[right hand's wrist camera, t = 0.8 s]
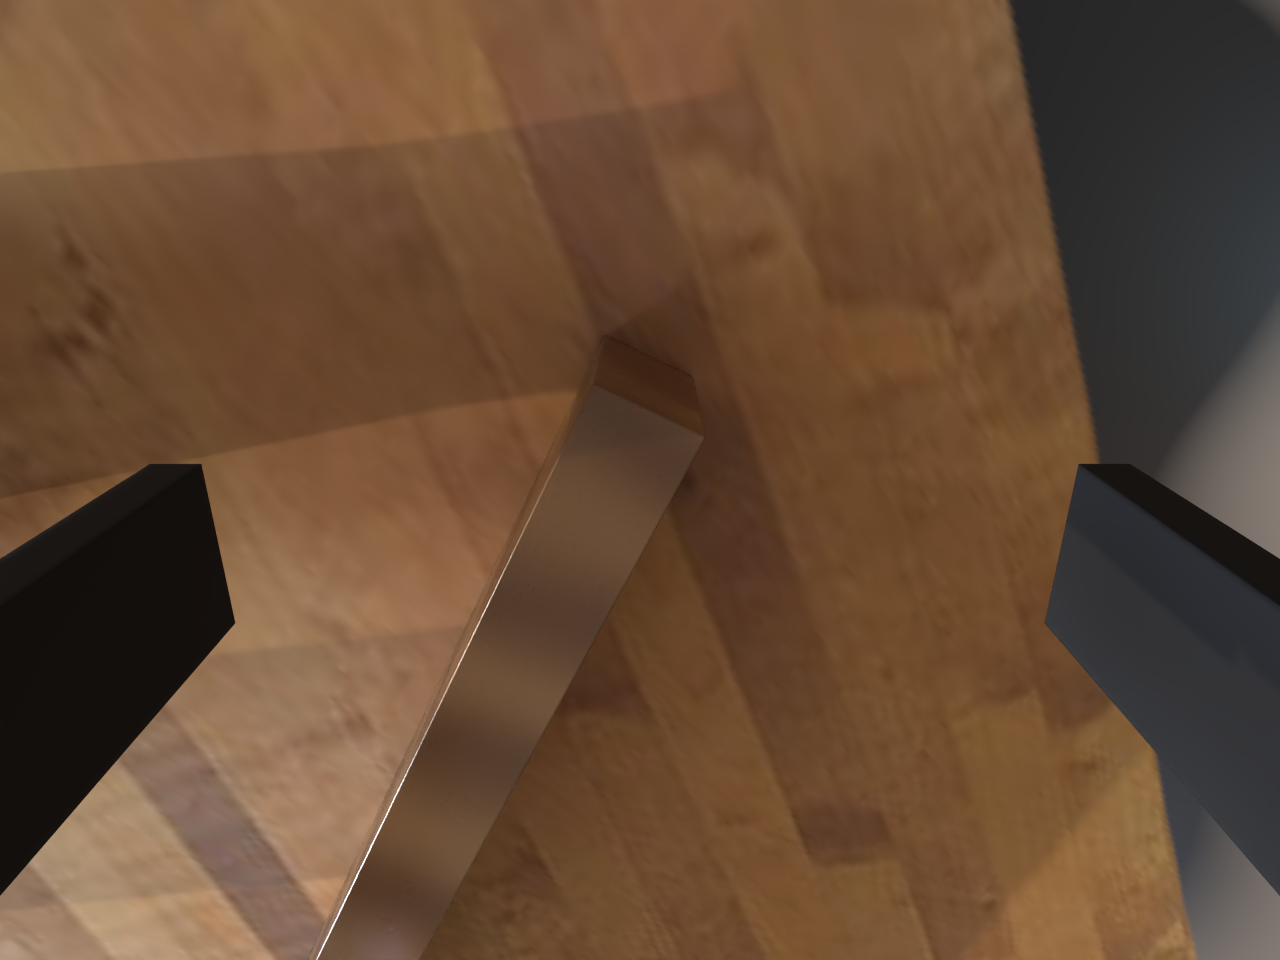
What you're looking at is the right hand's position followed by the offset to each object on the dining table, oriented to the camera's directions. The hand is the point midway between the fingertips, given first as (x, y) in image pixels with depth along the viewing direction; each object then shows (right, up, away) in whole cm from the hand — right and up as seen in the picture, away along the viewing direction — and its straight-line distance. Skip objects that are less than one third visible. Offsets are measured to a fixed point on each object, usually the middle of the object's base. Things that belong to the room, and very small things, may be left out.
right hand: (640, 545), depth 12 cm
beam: (-11, -16, +34) cm, 39 cm away
